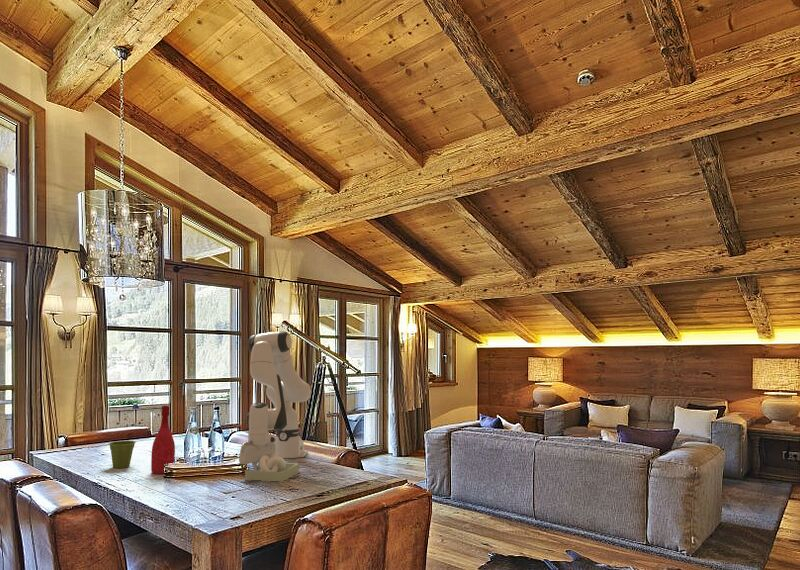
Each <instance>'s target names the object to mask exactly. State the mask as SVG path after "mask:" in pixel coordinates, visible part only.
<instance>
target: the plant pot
mask: <svg viewBox="0 0 800 570" xmlns="http://www.w3.org/2000/svg"><path fill="white" fill-rule="evenodd" d="M136 443H137V442H136V441H135V440H118V441H117V440H116V441H113V442H112V441H111V442H109V443H108V445H109V448H110V449H109V450H110V455H111V461H112V462H111V463H112V468H115V469H124V468H128V467H130V465H131V461H132V457H133V456H132V455H133V451H134V448H135V445H136Z"/></svg>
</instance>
